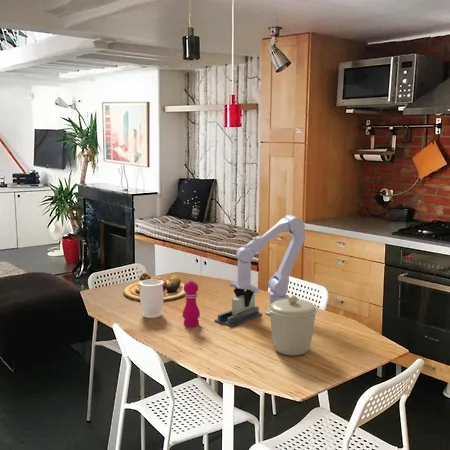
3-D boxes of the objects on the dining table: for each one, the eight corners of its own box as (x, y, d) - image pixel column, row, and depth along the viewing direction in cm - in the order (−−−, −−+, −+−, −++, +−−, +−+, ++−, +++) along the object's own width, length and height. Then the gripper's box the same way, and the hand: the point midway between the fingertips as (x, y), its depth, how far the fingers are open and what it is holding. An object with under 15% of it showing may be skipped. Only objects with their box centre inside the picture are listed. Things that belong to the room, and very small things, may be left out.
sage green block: (249, 307, 249) (249, 292, 248) (255, 309, 247) (255, 294, 246) (232, 314, 240) (232, 298, 239) (238, 316, 238) (238, 300, 237)
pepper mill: (197, 328, 230) (197, 281, 226) (180, 326, 231) (179, 280, 228) (201, 322, 237) (201, 276, 233) (185, 320, 238) (184, 275, 235)
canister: (284, 337, 220) (285, 285, 216) (325, 349, 209) (327, 294, 205) (257, 351, 206) (258, 296, 202) (299, 364, 195) (301, 306, 191)
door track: (244, 309, 252) (244, 302, 252) (262, 314, 246) (262, 307, 245) (214, 321, 237) (214, 314, 237) (232, 327, 231) (232, 319, 230)
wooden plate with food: (120, 287, 289) (119, 271, 287) (180, 281, 298) (180, 266, 297) (128, 307, 259) (127, 290, 257) (195, 300, 268) (195, 283, 267)
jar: (162, 319, 240) (161, 285, 237) (138, 319, 240) (137, 285, 237) (165, 311, 250) (164, 278, 248) (142, 311, 251) (141, 278, 248)
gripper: (225, 274, 243) (225, 304, 245) (251, 280, 233) (251, 311, 236) (235, 270, 248) (235, 300, 250) (261, 276, 238) (261, 307, 241)
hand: (243, 305), depth 243 cm, fingers closed on sage green block, 3 cm apart
